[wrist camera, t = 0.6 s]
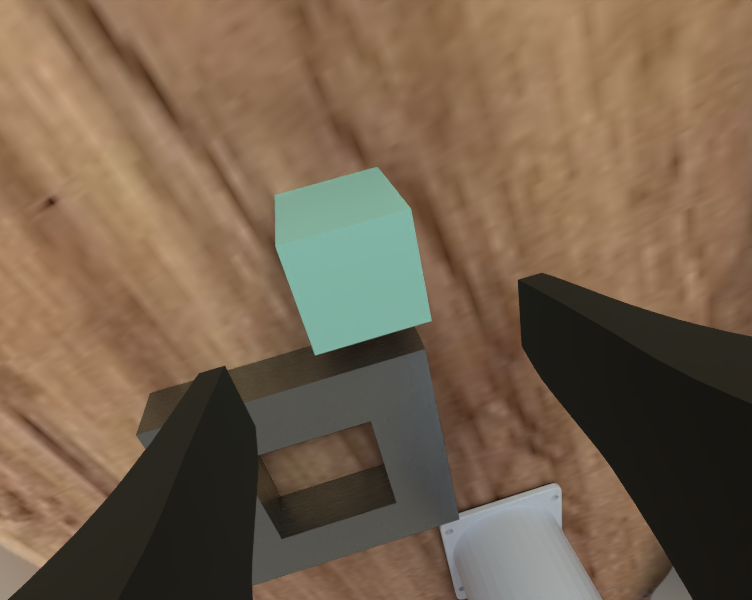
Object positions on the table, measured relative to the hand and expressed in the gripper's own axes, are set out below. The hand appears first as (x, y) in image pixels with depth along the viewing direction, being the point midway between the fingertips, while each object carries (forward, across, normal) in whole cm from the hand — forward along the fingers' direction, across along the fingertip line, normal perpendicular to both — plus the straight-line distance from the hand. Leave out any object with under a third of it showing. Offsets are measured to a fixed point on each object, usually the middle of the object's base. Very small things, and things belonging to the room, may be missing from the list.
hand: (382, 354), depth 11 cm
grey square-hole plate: (+8, +4, +11) cm, 15 cm away
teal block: (+9, 0, 0) cm, 9 cm away
